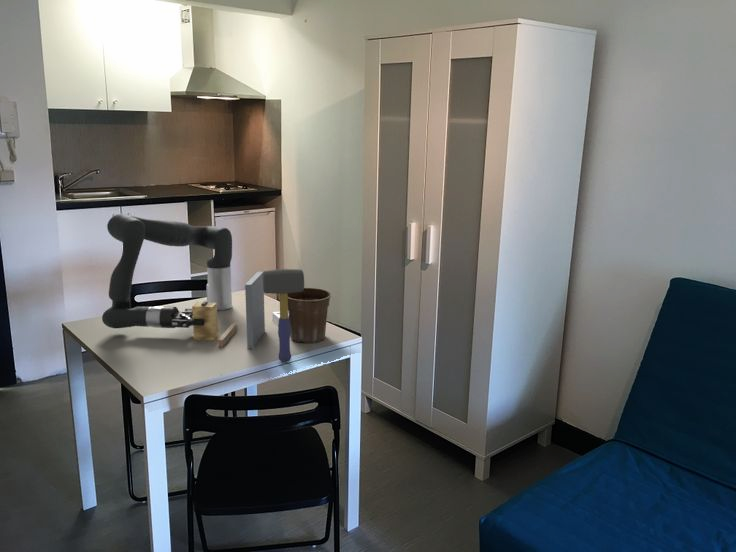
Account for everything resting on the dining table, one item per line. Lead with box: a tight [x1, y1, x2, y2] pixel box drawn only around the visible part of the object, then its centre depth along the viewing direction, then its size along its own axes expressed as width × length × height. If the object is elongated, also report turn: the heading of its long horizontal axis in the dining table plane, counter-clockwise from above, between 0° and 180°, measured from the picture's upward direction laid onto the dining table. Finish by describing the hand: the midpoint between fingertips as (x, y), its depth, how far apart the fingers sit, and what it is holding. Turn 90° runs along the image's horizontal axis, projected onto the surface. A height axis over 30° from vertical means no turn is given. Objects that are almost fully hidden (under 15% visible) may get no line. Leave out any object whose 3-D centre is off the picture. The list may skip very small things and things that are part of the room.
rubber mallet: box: [262, 268, 305, 364], centre depth 187 cm, size 12×8×30 cm, turn 104°
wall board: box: [217, 271, 266, 349], centre depth 208 cm, size 12×18×22 cm, turn 177°
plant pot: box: [288, 287, 332, 344], centre depth 210 cm, size 16×16×16 cm
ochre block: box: [191, 300, 219, 341], centre depth 209 cm, size 7×5×13 cm
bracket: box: [271, 310, 289, 326], centre depth 226 cm, size 13×7×8 cm, turn 27°
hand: (208, 318), depth 209 cm, fingers open, 8 cm apart
